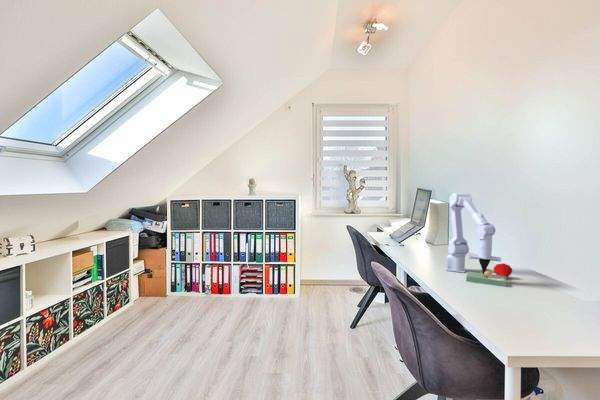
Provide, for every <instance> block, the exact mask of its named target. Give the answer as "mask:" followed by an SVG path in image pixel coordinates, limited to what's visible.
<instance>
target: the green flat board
mask: <svg viewBox="0 0 600 400" xmlns="http://www.w3.org/2000/svg"><path fill="white" fill-rule="evenodd" d="M507 279H508V277H507V278H506V276H500V275H497V274H492V275H491V276H490V277H486V276H484V274H483V272H476V271H467V274H466V279H465V281H466V282H470V283H475V284H476V283H478V284H484V285H490V286H499V287H504V288H505V287H507V285H508V281H507Z"/></svg>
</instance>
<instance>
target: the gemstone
mask: <svg viewBox="0 0 600 400" xmlns="http://www.w3.org/2000/svg"><path fill="white" fill-rule="evenodd" d="M512 272H513V268H512V267H511V266H510V265H509V264H508V263H507V264H506V263H504V262H503V263H497V264H496V265H494V266H493V273H495V274H494V275H500V276H506V278H507V279H508V277H510V275H512Z"/></svg>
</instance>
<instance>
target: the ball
mask: <svg viewBox="0 0 600 400" xmlns="http://www.w3.org/2000/svg"><path fill="white" fill-rule="evenodd" d="M491 275H493V272H492V270H491V269H489V268H486V271H485V273H484V276H486V277H490V276H491Z"/></svg>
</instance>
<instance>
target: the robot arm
mask: <svg viewBox="0 0 600 400" xmlns="http://www.w3.org/2000/svg"><path fill="white" fill-rule="evenodd" d="M448 198H449V199H448V200H449V208H450V216H451V217H450V219H451V230H452V231H451V232H452V238H451V239H450V240H449V241H448V247H447V250H448V251H447V252H448V254H446V255H447V256H446V271H449V272H457V273H465V272H466V270H467V269H466V267H465V266H466V263H465V262H466V256H467V255H468V254H469V251H470V248H469V244H468V240H466V239H465V238H464V233H463V220H462V210H463V208H465V210H467V212H468V213H469V214H470V215H471V220H472V222H473V223H474V225H475V227H476V228H477V229H476V231H477V234H478V239H479V241H478V242H479V245H478V254H469V257H468V258H469V259H471V260H478V262H479V266H480V267H481V271H482V273H483V274H484V273H485V271H486V269H488V266H489V264H490V263H491V262H498V263H501V262H502V257H500V256H499V257H498V256H493V255H492V249H493V248H492V247H493V236H494V235H495V233H496V227H495V225H494V224H492V223H490V222H488V220H487V219H486V218H485V215H484V214H483V213H481V212H479V211H478V209H477V208H476V207H475V205H474V203H473V197H472V196H471V194H470V193H467V192H466V193H461V192H460V193H459V192H458V193H455V192H453V193H451V195H450V196H449V197H448Z"/></svg>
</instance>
